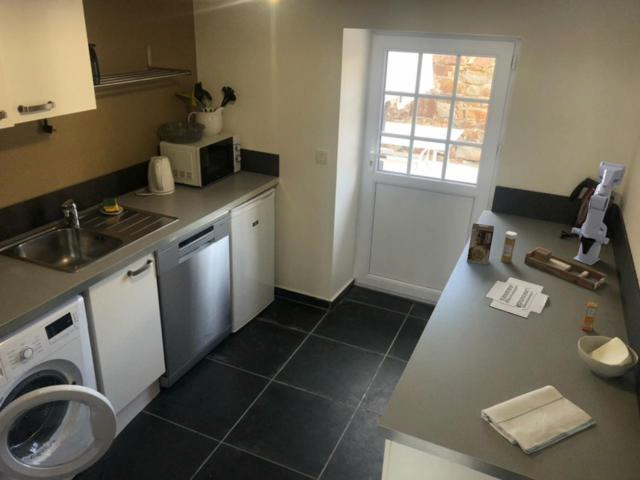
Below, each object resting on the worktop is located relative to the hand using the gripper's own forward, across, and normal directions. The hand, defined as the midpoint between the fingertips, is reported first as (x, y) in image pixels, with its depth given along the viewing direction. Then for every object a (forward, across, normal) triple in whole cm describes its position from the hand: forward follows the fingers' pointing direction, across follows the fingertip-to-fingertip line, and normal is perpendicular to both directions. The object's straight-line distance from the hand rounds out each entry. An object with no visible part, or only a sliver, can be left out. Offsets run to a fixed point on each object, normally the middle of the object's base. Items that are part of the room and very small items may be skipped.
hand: (584, 253), depth 223 cm
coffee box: (+10, -34, -25) cm, 43 cm away
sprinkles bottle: (+10, -26, -15) cm, 32 cm away
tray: (+10, -6, -39) cm, 41 cm away
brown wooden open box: (+9, -5, -4) cm, 12 cm away
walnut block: (+7, -15, -5) cm, 17 cm away
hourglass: (+10, +20, -40) cm, 46 cm away
